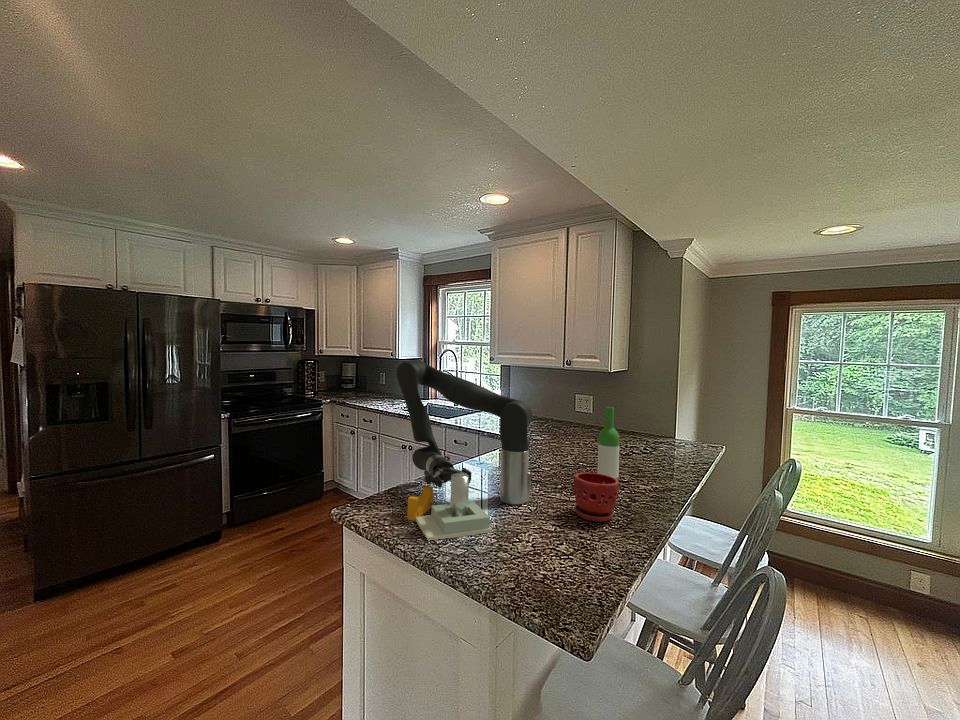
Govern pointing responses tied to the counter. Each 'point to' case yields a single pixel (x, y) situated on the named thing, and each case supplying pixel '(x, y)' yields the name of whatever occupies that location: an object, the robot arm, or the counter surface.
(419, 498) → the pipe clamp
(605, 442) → the wine bottle
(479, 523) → the pale green square frame
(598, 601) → the counter surface
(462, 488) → the steel shaft
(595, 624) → the counter surface
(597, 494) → the plant pot
